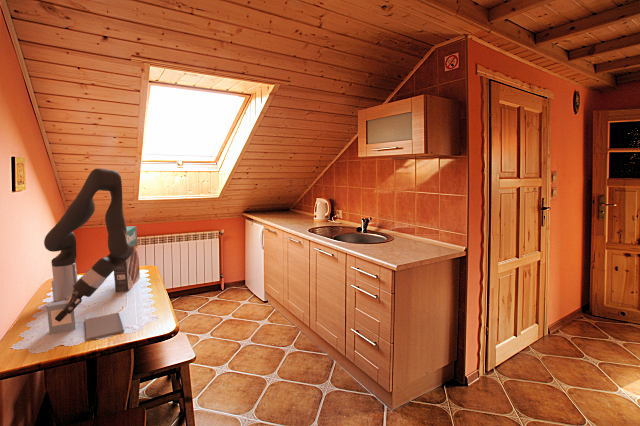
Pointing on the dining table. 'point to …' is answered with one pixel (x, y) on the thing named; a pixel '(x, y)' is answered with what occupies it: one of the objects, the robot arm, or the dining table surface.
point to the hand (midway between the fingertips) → (57, 316)
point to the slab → (65, 323)
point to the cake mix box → (128, 264)
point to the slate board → (103, 326)
